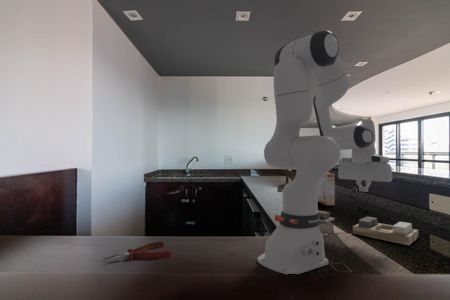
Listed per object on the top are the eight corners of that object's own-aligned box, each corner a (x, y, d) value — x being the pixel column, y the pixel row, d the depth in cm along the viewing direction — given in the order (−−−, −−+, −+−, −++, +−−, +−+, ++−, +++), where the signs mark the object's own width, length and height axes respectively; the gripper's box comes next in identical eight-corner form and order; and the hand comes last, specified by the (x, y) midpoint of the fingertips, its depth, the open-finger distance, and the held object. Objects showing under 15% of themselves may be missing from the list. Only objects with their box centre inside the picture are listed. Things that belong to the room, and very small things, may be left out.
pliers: (102, 257, 85) (102, 249, 85) (162, 247, 94) (162, 239, 94) (105, 271, 75) (105, 262, 75) (172, 257, 84) (172, 249, 84)
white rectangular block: (405, 238, 95) (405, 227, 95) (393, 236, 98) (392, 225, 98) (411, 233, 101) (411, 223, 101) (399, 231, 104) (399, 221, 104)
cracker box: (335, 205, 165) (335, 173, 166) (326, 205, 165) (325, 173, 166) (326, 201, 179) (326, 171, 180) (318, 201, 179) (317, 172, 180)
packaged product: (293, 209, 136) (301, 206, 143) (293, 218, 135) (302, 215, 143) (327, 214, 123) (334, 210, 130) (327, 224, 123) (335, 220, 130)
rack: (409, 245, 92) (408, 230, 92) (352, 233, 107) (352, 220, 107) (418, 237, 101) (418, 223, 101) (365, 227, 116) (365, 215, 116)
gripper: (335, 157, 112) (335, 189, 112) (388, 157, 97) (388, 194, 96) (342, 158, 116) (342, 188, 116) (393, 158, 101) (394, 193, 100)
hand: (363, 191), depth 106 cm, fingers closed
